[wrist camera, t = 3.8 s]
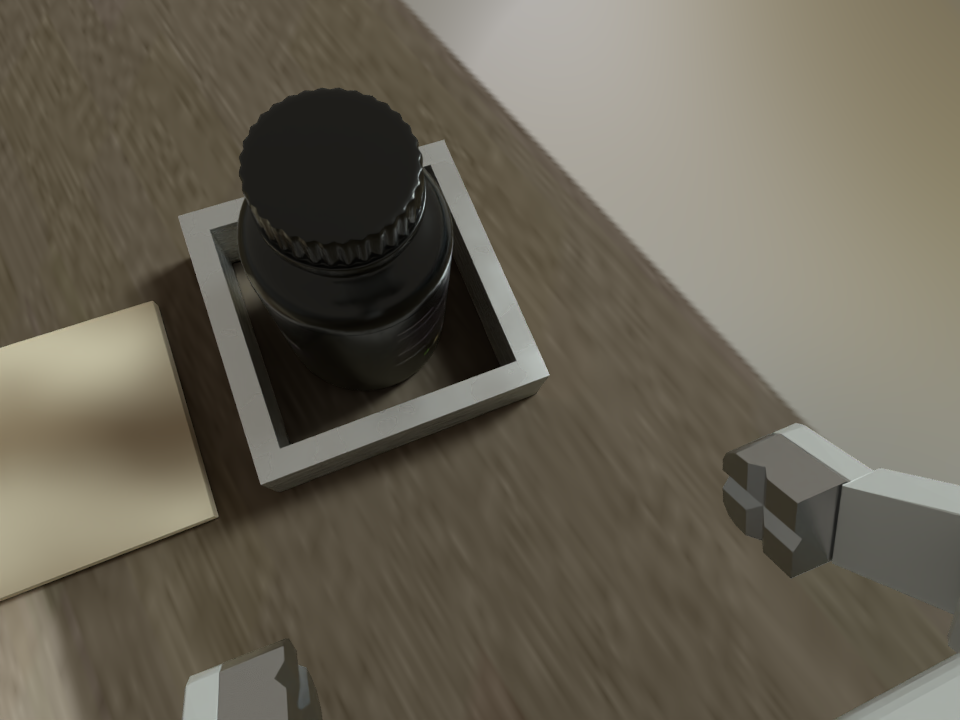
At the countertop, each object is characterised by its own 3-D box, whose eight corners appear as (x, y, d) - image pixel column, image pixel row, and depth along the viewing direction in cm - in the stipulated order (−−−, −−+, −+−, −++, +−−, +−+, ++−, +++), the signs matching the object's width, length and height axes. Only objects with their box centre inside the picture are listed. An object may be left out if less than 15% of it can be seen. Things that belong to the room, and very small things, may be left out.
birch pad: (219, 517, 24) (214, 516, 24) (-44, 618, 22) (-57, 620, 22) (158, 305, 27) (152, 300, 26) (-85, 381, 25) (-97, 377, 24)
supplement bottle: (258, 352, 26) (134, 202, 15) (338, 228, 29) (282, 14, 17) (400, 423, 26) (383, 324, 15) (470, 292, 28) (503, 117, 17)
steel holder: (536, 393, 27) (549, 374, 24) (279, 492, 25) (260, 484, 22) (441, 179, 30) (443, 139, 27) (203, 250, 28) (178, 216, 25)
